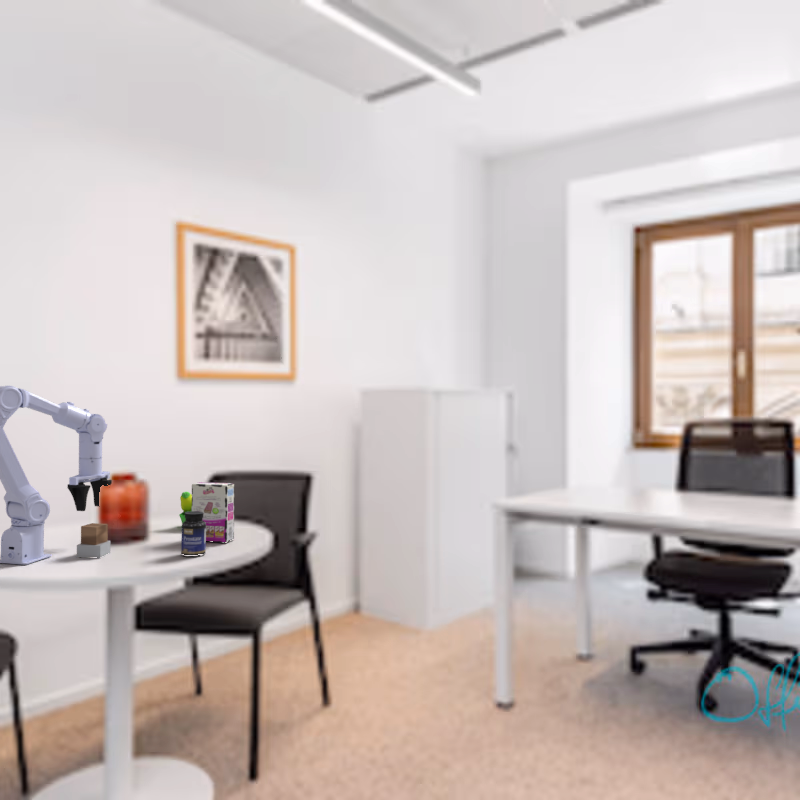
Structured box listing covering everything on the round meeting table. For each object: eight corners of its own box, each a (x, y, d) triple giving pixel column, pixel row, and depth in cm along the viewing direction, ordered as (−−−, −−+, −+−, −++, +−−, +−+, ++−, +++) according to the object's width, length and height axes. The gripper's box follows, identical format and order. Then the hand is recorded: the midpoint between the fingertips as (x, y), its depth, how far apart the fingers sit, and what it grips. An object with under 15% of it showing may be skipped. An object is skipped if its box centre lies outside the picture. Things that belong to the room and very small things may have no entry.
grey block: (100, 559, 178) (100, 545, 178) (76, 558, 178) (76, 545, 178) (110, 554, 184) (110, 540, 184) (87, 553, 184) (87, 540, 184)
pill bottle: (180, 558, 180) (181, 514, 179) (181, 552, 185) (181, 510, 185) (205, 556, 181) (206, 514, 181) (205, 551, 187) (206, 510, 187)
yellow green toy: (203, 531, 213) (203, 494, 213) (174, 531, 213) (174, 494, 213) (213, 524, 225) (214, 489, 225) (185, 524, 225) (186, 488, 225)
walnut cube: (96, 545, 179) (96, 527, 179) (80, 543, 180) (81, 526, 180) (107, 541, 183) (107, 524, 183) (92, 540, 184) (92, 523, 184)
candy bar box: (234, 540, 202) (235, 483, 201) (226, 543, 197) (227, 485, 197) (199, 537, 204) (200, 481, 204) (190, 541, 199) (191, 483, 199)
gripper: (86, 461, 182) (85, 513, 182) (119, 456, 196) (119, 504, 196) (62, 460, 183) (61, 512, 184) (97, 455, 198) (96, 503, 198)
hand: (90, 508), depth 190 cm, fingers open, 7 cm apart
